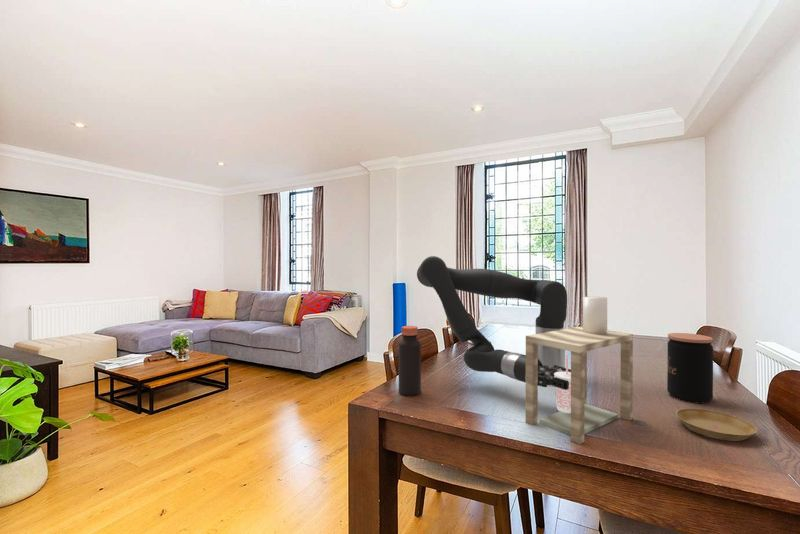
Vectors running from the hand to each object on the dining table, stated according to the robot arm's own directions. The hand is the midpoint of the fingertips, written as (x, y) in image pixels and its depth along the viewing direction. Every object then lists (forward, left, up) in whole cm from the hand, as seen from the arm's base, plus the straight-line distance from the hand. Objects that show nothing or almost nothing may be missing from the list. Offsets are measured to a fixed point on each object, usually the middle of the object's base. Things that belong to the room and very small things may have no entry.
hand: (575, 383), depth 96 cm
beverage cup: (0, -3, -8) cm, 8 cm away
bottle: (+23, -40, -9) cm, 47 cm away
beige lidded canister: (-19, -52, -9) cm, 56 cm away
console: (0, +1, -9) cm, 9 cm away
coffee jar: (-42, +10, -9) cm, 44 cm away
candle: (-7, +1, +12) cm, 14 cm away
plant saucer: (-21, +22, -10) cm, 32 cm away
